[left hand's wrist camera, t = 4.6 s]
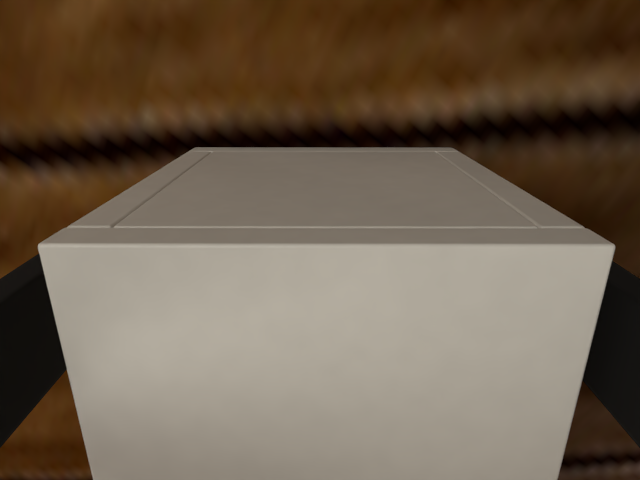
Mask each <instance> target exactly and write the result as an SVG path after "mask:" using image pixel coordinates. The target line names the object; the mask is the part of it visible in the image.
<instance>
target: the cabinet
mask: <svg viewBox="0 0 640 480" xmlns="http://www.w3.org/2000/svg"><path fill="white" fill-rule="evenodd" d="M38 250H39V254H40V258H41V263H42V267H43V271H44V275H45V279H46V284H47V288H48V292H49V296H50V300H51V305H52V309H53V313H54V317H55V321H56V326H57V330H58V334H59V338H60V342H61V347H62V351H63V355H64V359H65V363H66V367H67V372H68V376H69V380H70V384H71V388H72V393H73V397H74V401H75V405H76V409H77V414H78V418H79V422H80V426H81V430H82V435H83V439H84V443H85V447H86V451H87V456H88V460H89V464H90V468H91V472H92V476H93V480H558V476H559V472H560V468H561V464H562V460H563V455H564V451H565V447H566V443H567V439H568V435H569V431H570V427H571V423H572V419H573V415H574V411H575V407H576V403H577V399H578V395H579V391H580V387H581V383H582V379H583V375H584V371H585V367H586V363H587V359H588V355H589V351H590V347H591V343H592V339H593V335H594V331H595V327H596V323H597V319H598V315H599V311H600V307H601V303H602V299H603V295H604V291H605V287H606V283H607V279H608V275H609V271H610V267H611V263H612V259H613V255H614V251H615V245H614V244H613V243H611V242H609V241H608V240H606V239H604V238H603V237H601V236H599V235H598V234H596V233H594V232H593V231H591V230H589V229H587V228H584V227H583V226H582V225H580V224H578V223H577V222H575V221H573V220H572V219H570V218H568V217H567V216H565V215H563V214H562V213H560V212H559V211H557V210H555V209H554V208H552V207H550V206H549V205H547V204H545V203H544V202H542V201H540V200H539V199H537V198H535V197H534V196H532V195H530V194H529V193H527V192H525V191H524V190H522V189H520V188H519V187H517V186H515V185H514V184H512V183H510V182H509V181H507V180H505V179H504V178H502V177H500V176H499V175H497V174H495V173H494V172H492V171H490V170H489V169H487V168H485V167H484V166H482V165H480V164H479V163H477V162H475V161H474V160H472V159H470V158H469V157H467V156H465V155H464V154H462V153H460V152H459V151H457V150H455V149H454V148H243V147H196V148H193V149H192V150H190V151H189V152H187V153H185V154H184V155H182V156H181V157H179V158H177V159H176V160H174V161H173V162H171V163H169V164H168V165H166V166H164V167H163V168H161V169H160V170H158V171H156V172H155V173H153V174H152V175H150V176H148V177H147V178H145V179H144V180H142V181H140V182H139V183H137V184H135V185H134V186H132V187H131V188H129V189H127V190H126V191H124V192H123V193H121V194H119V195H118V196H116V197H115V198H113V199H111V200H110V201H108V202H106V203H105V204H103V205H102V206H100V207H98V208H97V209H95V210H94V211H92V212H90V213H89V214H87V215H86V216H84V217H82V218H81V219H79V220H77V221H76V222H74V223H73V224H71V225H69V226H68V227H67V228H64V229H62V230H60V231H59V232H57V233H56V234H54V235H52V236H51V237H49V238H47V239H46V240H44V241H43V242H41V243H39V245H38Z"/></svg>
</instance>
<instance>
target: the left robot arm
mask: <svg viewBox="0 0 640 480" xmlns="http://www.w3.org/2000/svg"><path fill="white" fill-rule="evenodd" d="M66 369H67V367H66V363H65V359H64V355H63V351H62V347H61V342H60V338H59V334H58V330H57V326H56V321H55V317H54V313H53V309H52V305H51V300H50V296H49V292H48V288H47V284H46V279H45V275H44V271H43V267H42V263H41V258H40V254H38V255H36V256H35V257H33V258H32V259H30V260H29V261H27V262H25V263H24V264H22V265H21V266H19V267H18V268H16V269H15V270H13V271H12V272H10V273H9V274H7V275H6V276H4V277H2V278H1V279H0V447H1V446H2V445H3V444H4V443H5V441H6V440H7V439H8V438H9V437H10V435H11V434H12V433H13V432H14V431H15V430H16V428H17V427H18V426H19V425H20V424H21V423H22V421H23V420H24V419H25V418H26V417H27V415H28V414H29V413H30V412H31V411H32V410H33V408H34V407H35V406H36V405H37V404H38V402H39V401H40V400H41V399H42V398H43V397H44V395H45V394H46V393H47V392H48V391H49V389H50V388H51V387H52V386H53V385H54V384H55V382H56V381H57V380H58V379H59V378H60V376H61V375H62V374H63V373H64V372H65V371H66ZM582 380H583V381H584V382H585V384H586V385H587V386H588V387H589V388H590V389H591V391H592V392H593V393H594V394H595V395H596V397H597V398H598V399H599V400H600V401H601V402H602V404H603V405H604V406H605V407H606V408H607V410H608V411H609V412H610V413H611V414H612V415H613V417H614V418H615V419H616V420H617V421H618V422H619V424H620V425H621V426H622V427H623V428H624V430H625V431H626V432H627V433H628V434H629V435H630V437H631V438H632V439H633V440H634V441H635V443H636V444H637V445H638V446H639V447H640V279H639V278H638V277H636V276H634V275H633V274H631V273H630V272H628V271H627V270H625V269H624V268H622V267H621V266H619V265H618V264H616V263H615V262H613V261H612V263H611V267H610V271H609V275H608V279H607V283H606V287H605V291H604V295H603V299H602V303H601V307H600V311H599V315H598V319H597V323H596V327H595V331H594V335H593V339H592V343H591V347H590V351H589V355H588V359H587V363H586V367H585V371H584V375H583V379H582Z"/></svg>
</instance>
